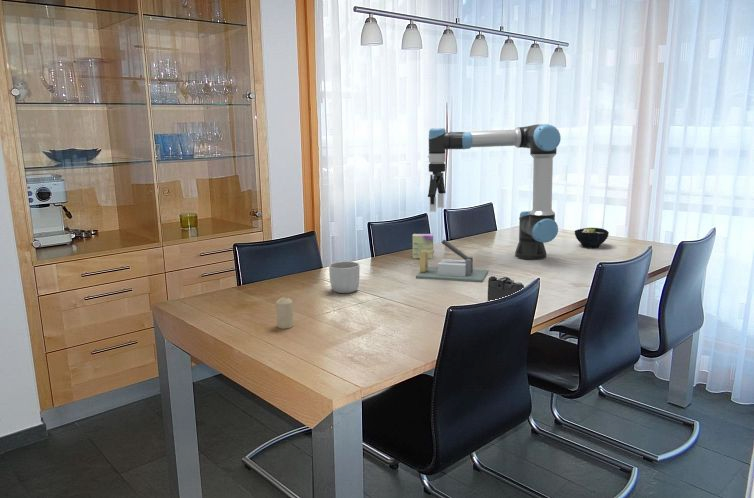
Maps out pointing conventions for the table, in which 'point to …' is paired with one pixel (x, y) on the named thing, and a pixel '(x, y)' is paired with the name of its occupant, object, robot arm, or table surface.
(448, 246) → the strap
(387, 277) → the table surface
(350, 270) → the planter
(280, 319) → the candle
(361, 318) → the table surface
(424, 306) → the table surface
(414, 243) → the box
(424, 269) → the notched wooden block
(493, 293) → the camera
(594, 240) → the bowl
